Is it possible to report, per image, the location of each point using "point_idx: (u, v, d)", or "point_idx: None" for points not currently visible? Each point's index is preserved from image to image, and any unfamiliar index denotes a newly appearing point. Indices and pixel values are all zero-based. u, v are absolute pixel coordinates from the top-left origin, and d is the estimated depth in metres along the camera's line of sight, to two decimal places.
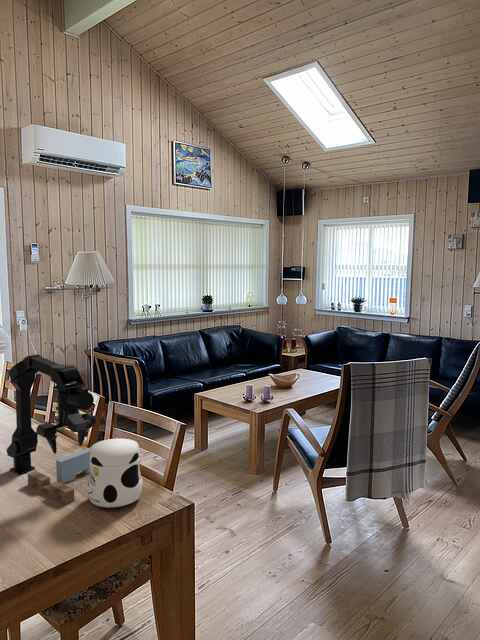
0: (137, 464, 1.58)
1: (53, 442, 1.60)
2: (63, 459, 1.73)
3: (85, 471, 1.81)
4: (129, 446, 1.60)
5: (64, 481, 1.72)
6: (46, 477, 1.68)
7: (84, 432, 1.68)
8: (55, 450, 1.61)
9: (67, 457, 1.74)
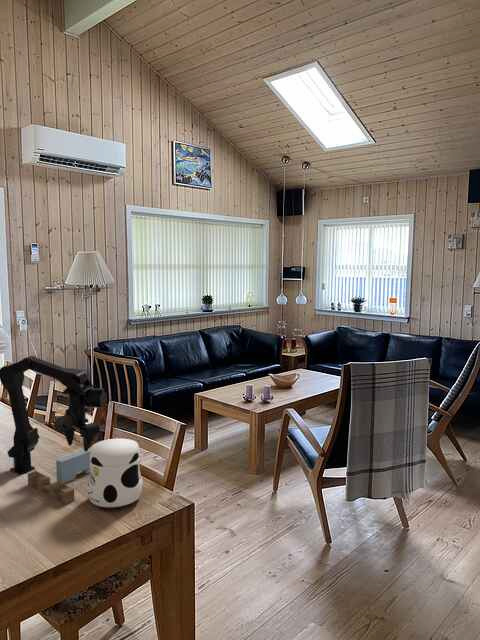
0: (137, 464, 1.58)
1: (64, 433, 1.79)
2: (63, 459, 1.73)
3: (85, 471, 1.81)
4: (129, 446, 1.60)
5: (64, 481, 1.72)
6: (46, 477, 1.68)
7: (83, 439, 1.73)
8: (68, 442, 1.80)
9: (67, 457, 1.74)
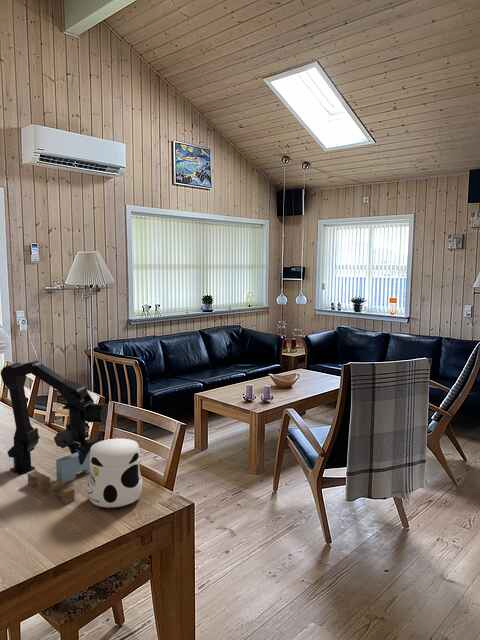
0: (137, 464, 1.58)
1: (70, 450, 1.78)
2: (63, 459, 1.73)
3: (85, 471, 1.81)
4: (129, 446, 1.60)
5: (64, 481, 1.72)
6: (46, 477, 1.68)
7: (79, 452, 1.75)
8: None
9: (67, 457, 1.74)
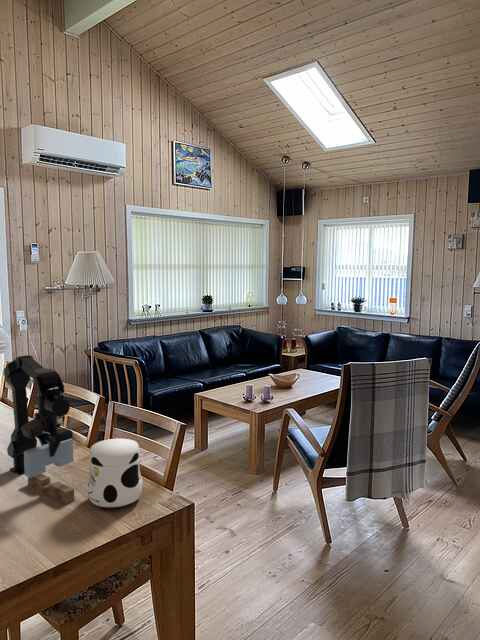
0: (137, 464, 1.58)
1: (40, 441, 1.64)
2: (31, 451, 1.58)
3: (57, 464, 1.66)
4: (129, 446, 1.60)
5: (32, 475, 1.58)
6: (46, 477, 1.68)
7: (49, 443, 1.61)
8: None
9: (36, 449, 1.60)
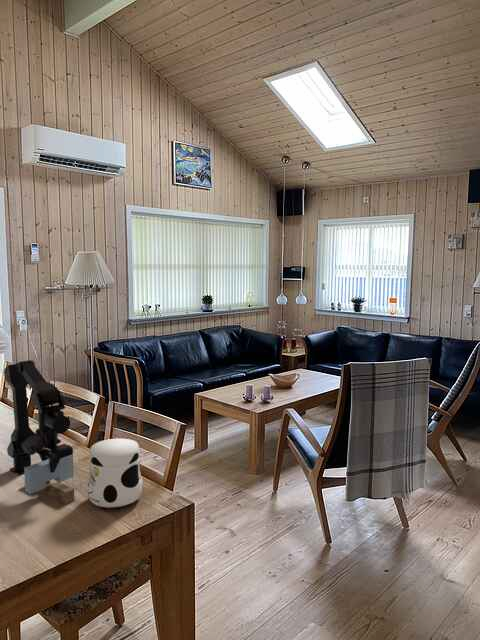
0: (137, 464, 1.58)
1: (40, 457, 1.65)
2: (32, 467, 1.59)
3: (57, 479, 1.67)
4: (129, 446, 1.60)
5: (33, 491, 1.59)
6: None
7: (49, 460, 1.61)
8: None
9: (36, 465, 1.60)
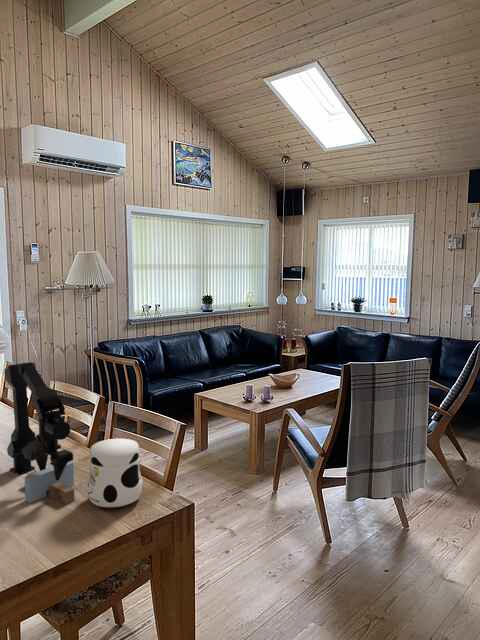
0: (137, 464, 1.58)
1: (36, 461, 1.66)
2: (32, 476, 1.59)
3: None
4: (129, 446, 1.60)
5: (33, 500, 1.59)
6: None
7: (54, 467, 1.60)
8: (40, 470, 1.67)
9: (36, 474, 1.61)
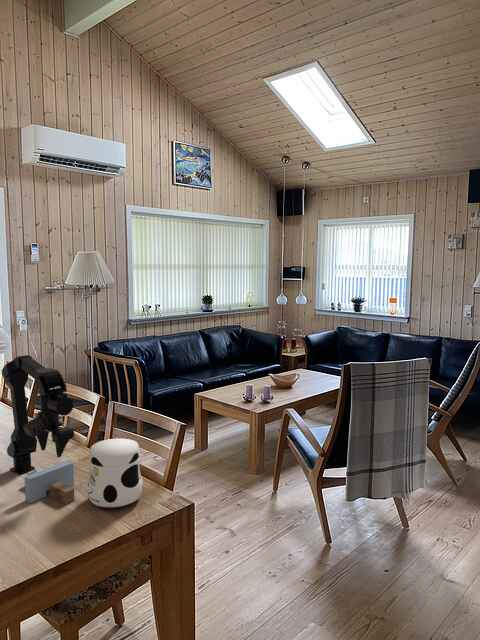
0: (137, 464, 1.58)
1: (37, 438, 1.68)
2: (32, 476, 1.59)
3: None
4: (129, 446, 1.60)
5: (33, 500, 1.59)
6: None
7: (56, 444, 1.61)
8: (40, 446, 1.68)
9: (36, 474, 1.61)
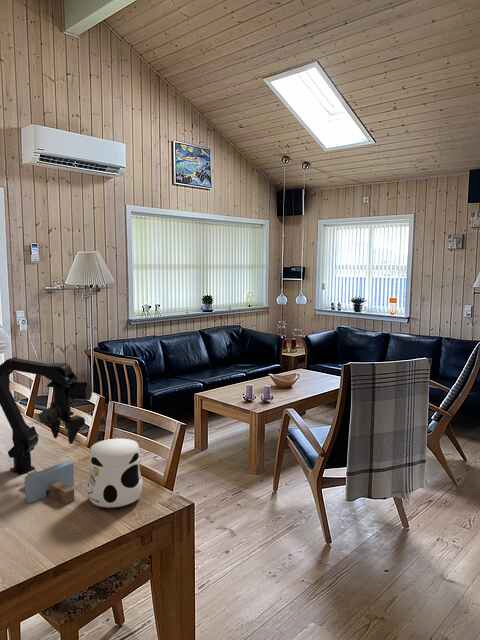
0: (137, 464, 1.58)
1: (50, 426, 1.81)
2: (32, 476, 1.59)
3: None
4: (129, 446, 1.60)
5: (33, 500, 1.59)
6: None
7: (68, 432, 1.75)
8: (53, 435, 1.81)
9: (36, 474, 1.61)
